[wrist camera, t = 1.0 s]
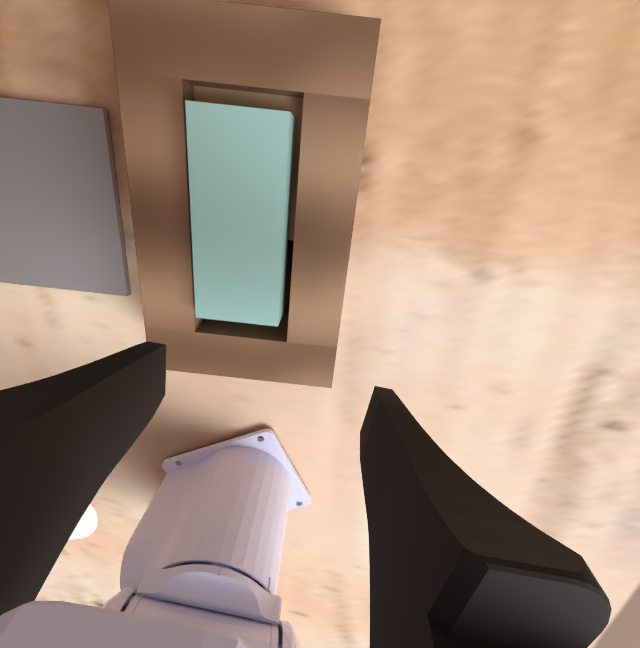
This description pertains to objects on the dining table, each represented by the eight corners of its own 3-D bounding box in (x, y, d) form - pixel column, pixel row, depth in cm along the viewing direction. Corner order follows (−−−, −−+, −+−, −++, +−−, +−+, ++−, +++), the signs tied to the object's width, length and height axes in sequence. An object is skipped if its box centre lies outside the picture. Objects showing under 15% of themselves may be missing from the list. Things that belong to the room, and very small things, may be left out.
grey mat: (130, 294, 22) (127, 296, 22) (-28, 276, 22) (-34, 278, 22) (107, 109, 18) (102, 108, 18) (-87, 88, 18) (-96, 86, 18)
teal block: (283, 311, 19) (277, 326, 17) (209, 303, 19) (195, 317, 17) (295, 118, 15) (290, 111, 13) (203, 108, 15) (184, 100, 13)
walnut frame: (332, 351, 23) (331, 388, 19) (180, 334, 23) (149, 367, 19) (371, 53, 17) (381, 18, 13) (159, 30, 17) (106, -12, 13)
